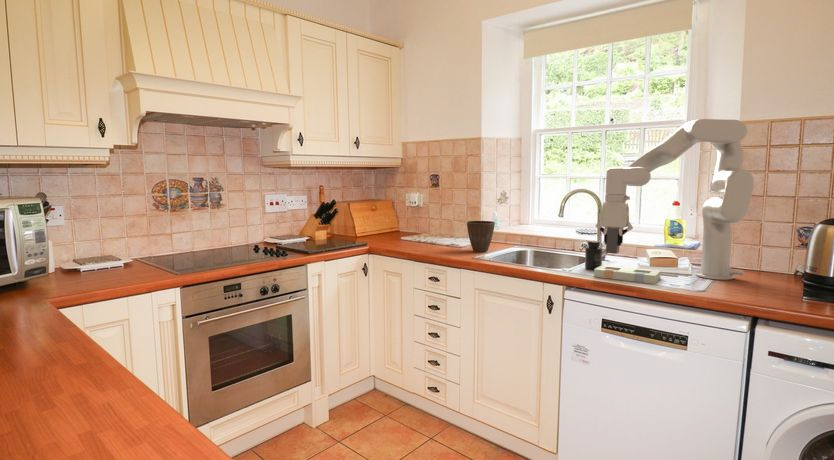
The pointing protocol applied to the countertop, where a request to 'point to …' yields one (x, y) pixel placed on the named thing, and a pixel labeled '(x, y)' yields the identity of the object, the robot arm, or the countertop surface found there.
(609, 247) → the dark grey tall block
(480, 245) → the plant pot
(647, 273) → the socket board
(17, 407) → the countertop surface
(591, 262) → the supplement bottle
